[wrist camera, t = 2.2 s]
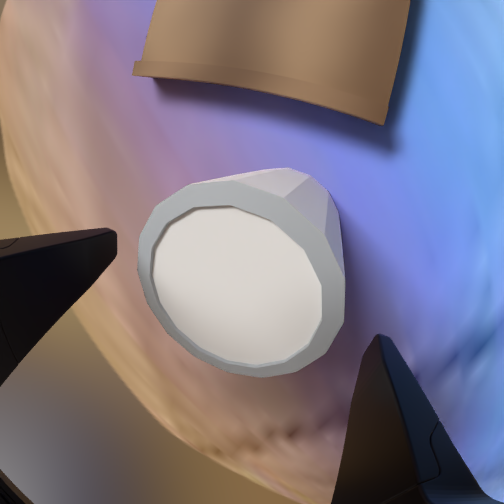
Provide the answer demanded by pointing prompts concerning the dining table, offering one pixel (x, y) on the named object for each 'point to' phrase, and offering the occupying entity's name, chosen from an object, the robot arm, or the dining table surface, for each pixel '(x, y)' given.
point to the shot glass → (247, 270)
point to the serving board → (283, 49)
